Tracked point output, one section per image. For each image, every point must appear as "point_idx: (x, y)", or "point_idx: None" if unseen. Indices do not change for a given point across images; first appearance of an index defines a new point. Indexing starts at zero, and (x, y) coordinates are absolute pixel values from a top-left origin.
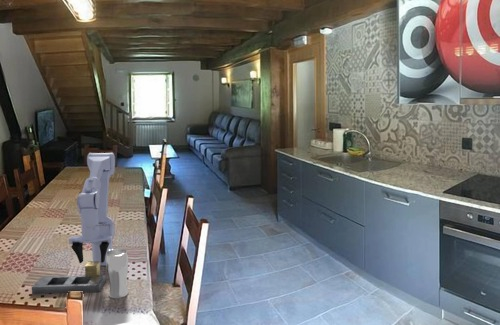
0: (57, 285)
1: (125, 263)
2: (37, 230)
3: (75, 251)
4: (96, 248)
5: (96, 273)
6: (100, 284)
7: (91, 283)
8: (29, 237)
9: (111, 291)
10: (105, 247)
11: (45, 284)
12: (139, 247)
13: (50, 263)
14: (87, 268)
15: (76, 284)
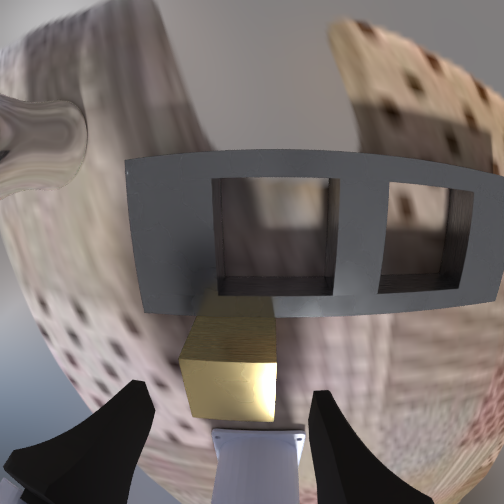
0: (419, 174)
1: None
2: (441, 497)
3: (382, 476)
4: (267, 501)
5: (197, 322)
6: (132, 195)
7: (183, 186)
8: (459, 480)
9: (52, 104)
10: (14, 452)
11: (478, 202)
12: (174, 488)
13: (443, 423)
14: (255, 348)
15: (293, 173)
